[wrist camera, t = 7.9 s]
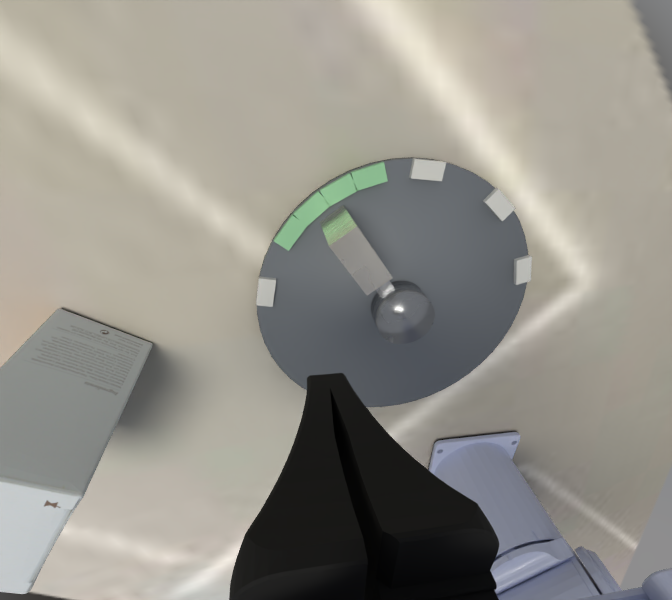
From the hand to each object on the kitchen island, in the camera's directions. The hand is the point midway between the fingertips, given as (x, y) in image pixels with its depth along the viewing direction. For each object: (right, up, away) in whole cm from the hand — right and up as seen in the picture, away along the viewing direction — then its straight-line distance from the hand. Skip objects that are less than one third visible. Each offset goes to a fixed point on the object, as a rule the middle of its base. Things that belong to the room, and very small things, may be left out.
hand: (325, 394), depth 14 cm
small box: (-16, -1, +10) cm, 19 cm away
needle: (+3, +5, +9) cm, 11 cm away
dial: (+4, +4, +11) cm, 12 cm away
